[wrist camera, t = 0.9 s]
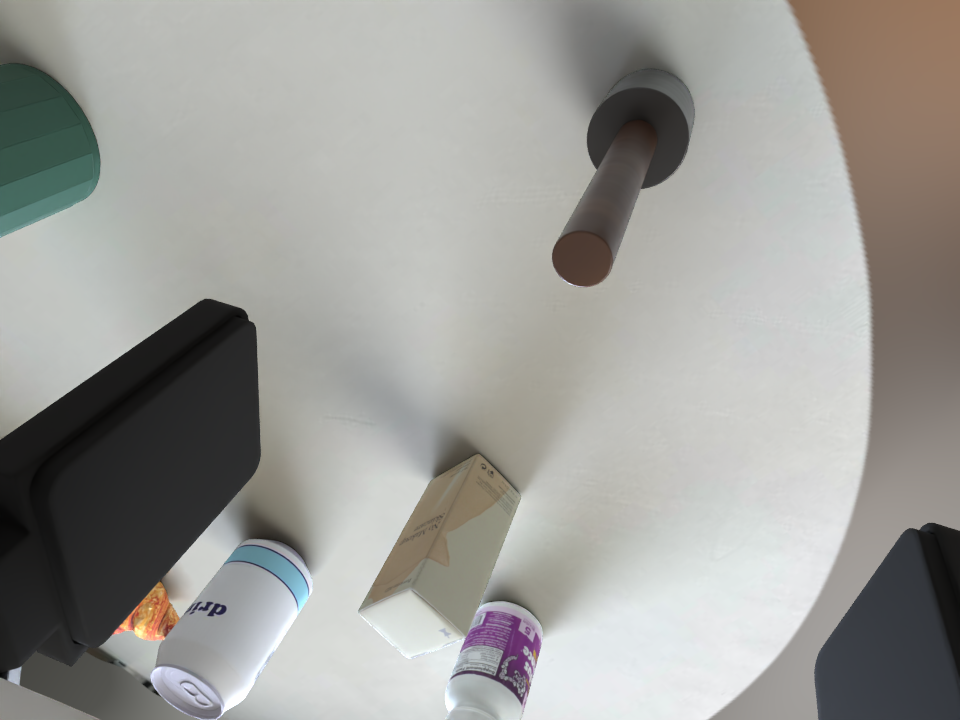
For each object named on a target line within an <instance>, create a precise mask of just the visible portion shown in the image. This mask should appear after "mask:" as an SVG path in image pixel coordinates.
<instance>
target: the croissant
mask: <svg viewBox="0 0 960 720" xmlns="http://www.w3.org/2000/svg"><path fill="white" fill-rule="evenodd" d="M179 620H180V618H179V617H178V615H177V613H176V611H175V610H174V608H173V607H172V604H171V603H170V602H169V599H168V595H167V593H166V589H165V588H164V587H163V584H162V583H161V582H160V581H159V582H158V584H157V585H156V586H155V587H154V588H153V589H152V590H151V591H150V593H149V594H148V595H147V596H146V597H145V598H144V599H143V600H142V602H141V603H140V604H139V605H138V606H137V607H136V608H135V609H134V611H133V612H132V613H131V614H130V615H129V616H128V617H127V618H126V620H125V621H124V622H123V623H122V624H121V625H120V626H119V627H118V629H117V630H116V631H115V632H114V633H113V634H117V633H121V632H123V631H129V630H133V631H134V632H135V635H136V636H137V637H140V638H142V639H144V640H164V639H165V637H166V636H167V635H168V634H169V632H170V631H171V630H172V628H173V627H174V626H175V625H176V623H177V622H178V621H179Z"/></svg>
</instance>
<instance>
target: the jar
mask: <svg viewBox="0 0 960 720" xmlns="http://www.w3.org/2000/svg"><path fill="white" fill-rule="evenodd" d="M99 174H100V155H99V150H98V145H97V142H96V139H95V135H94V133H93V131H92V128H91V126H90V124H89V122H88V120H87V118H86V116H85V115H84V113H83V111H82V110H81V108H80V107H79V105H78V104H77V103H76V101H75V100H74V99H73V98H72V97H71V95H70V94H69V93H68V92H67V91H66V90H65V89H64V88H63V87H62V86H61V85H60V84H59V83H57V82H56V81H55V80H54V79H52V78H51V77H50V76H48V75H46V74H45V73H43V72H42V71H39V70H37V69H35V68H33V67H30V66H27V65H23V64H18V63H9V64H4V65H0V237H3V236H5V235H7V234H9V233H12V232H14V231H16V230H19V229H21V228H23V227H25V226H28V225H30V224H32V223H35V222H37V221H39V220H41V219H44V218H46V217H48V216H51V215H53V214H55V213H57V212H60V211H62V210H64V209H67V208H69V207H71V206H73V205H74V204H76V203H78V202H80V201H82V200H84V199H86V198H87V197H88V196H89V195H90V194H91V193H92V192H93V190H94V189H95V187H96V185H97V182H98V179H99Z"/></svg>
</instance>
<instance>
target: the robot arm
mask: <svg viewBox="0 0 960 720" xmlns="http://www.w3.org/2000/svg"><path fill="white" fill-rule="evenodd" d="M260 457H261V445H260V418H259V390H258V363H257V335H256V327H255V325H254V323H253V322H251V321H249V320H248V315H247V313H246V311H244V310H243V309H241V308H238V307H235V306H232V305H229V304H225V303H222V302H219V301H216V300H212V299H204V300H202V301H200V302H198V303H197V304H195V305H194V306H193V307H191V308H190V309H188V310H187V311H185V312H184V313H182V314H181V315H180V316H178V317H177V318H175V319H174V320H172V321H171V322H169V323H168V324H167V325H165V326H164V327H162V328H161V329H159V330H158V331H157V332H155V333H154V334H152V335H151V336H149V337H148V338H146V339H145V340H144V341H142V342H141V343H139V344H138V345H136V346H135V347H133V348H132V349H131V350H129V351H128V352H126V353H125V354H123V355H122V356H121V357H119V358H118V359H116V360H115V361H113V362H112V363H110V364H109V365H108V366H106V367H105V368H103V369H102V370H100V371H99V372H97V373H96V374H95V375H93V376H92V377H90V378H89V379H87V380H86V381H85V382H83V383H82V384H80V385H79V386H77V387H76V388H74V389H73V390H72V391H70V392H69V393H67V394H66V395H64V396H63V397H61V398H60V399H59V400H57V401H56V402H54V403H53V404H51V405H50V406H49V407H47V408H46V409H44V410H43V411H41V412H40V413H38V414H37V415H36V416H34V417H33V418H31V419H30V420H28V421H27V422H25V423H24V424H23V425H21V426H20V427H18V428H17V429H15V430H14V431H13V432H11V433H10V434H8V435H7V436H5V437H4V438H2V439H1V440H0V720H100V719H98V718H96V717H93V716H91V715H89V714H86V713H84V712H82V711H79V710H77V709H74V708H73V707H70V706H68V705H65V704H63V703H61V702H58V701H56V700H53V699H51V698H49V697H46V696H43V695H41V694H39V693H36V692H34V691H32V690H29V689H27V688H24V687H22V686H19V684H20V675H21V666H22V665H23V664H24V663H25V662H26V661H27V660H28V659H29V657H31V656H32V654H33V653H34V652H35V651H36V650H37V652H38V653H41V654H43V655H45V656H48V657H50V658H52V659H55V660H57V661H59V662H62V663H64V664H66V665H69V666H73V664H74V663H75V662H76V661H77V660H78V659H79V658H80V657H81V656H82V654H83V653H84V652H85V651H86V650H87V649H88V648H89V647H91V648H96V647H99V646H100V645H102V644H103V643H104V642H106V641H107V640H108V639H109V638H110V636H111V635H112V634H113V633H114V632H115V631H116V630H117V629H118V627H119V626H120V625H121V624H122V623H123V622H124V621H125V620H126V618H127V617H128V616H129V615H130V614H131V613H132V612H133V611H134V609H135V608H136V607H137V606H138V605H139V604H140V603H141V602H142V600H143V599H144V598H145V597H146V596H147V595H148V594H149V593H150V591H151V590H152V589H153V588H154V587H155V586H156V585H157V584H158V582H159V581H160V580H161V579H162V578H163V577H164V576H165V575H166V573H167V572H168V571H169V570H170V569H171V568H172V567H173V565H174V564H175V563H176V562H177V561H178V560H179V559H180V558H181V556H182V555H183V554H184V553H185V552H186V551H187V550H188V549H189V547H190V546H191V545H192V544H193V543H194V542H195V541H196V540H197V538H198V537H199V536H200V535H201V534H202V533H203V532H204V531H205V529H206V528H207V527H208V526H209V525H210V524H211V523H212V522H213V520H214V519H215V518H216V517H217V516H218V515H219V514H220V513H221V511H222V510H223V509H224V508H225V507H226V506H227V505H228V504H229V502H230V501H231V500H232V499H233V498H234V497H235V496H236V495H237V493H238V492H239V491H240V490H241V489H242V488H243V487H244V485H245V484H246V483H247V482H248V481H249V480H250V479H251V477H252V476H253V475H254V473H255V471H256V470H257V467H258V465H259V462H260ZM814 674H815V687H816V698H817V709H818V719H819V720H960V531H958V530H955V529H951V528H948V527H945V526H942V525H939V524H936V523H927V524H926V525H924V526H922V527H921V529H920V530H917V529H913V528H909V529H907V530H906V531H905V532H904V533H903V534H902V535H901V536H900V538H899V539H898V540H897V542H896V543H895V545H894V546H893V548H892V549H891V550H890V552H889V553H888V555H887V556H886V557H885V559H884V560H883V562H882V563H881V565H880V566H879V567H878V569H877V570H876V572H875V573H874V575H873V576H872V577H871V579H870V580H869V582H868V583H867V585H866V586H865V587H864V589H863V590H862V592H861V593H860V595H859V596H858V597H857V599H856V600H855V601H854V603H853V604H852V606H851V607H850V609H849V610H848V612H847V613H846V614H845V616H844V617H843V619H842V620H841V622H840V623H839V624H838V626H837V627H836V629H835V630H834V631H833V633H832V634H831V636H830V637H829V638H828V640H827V641H826V643H825V644H824V645H823V647H822V648H821V650H820V652H819V654H818V657H817V660H816V664H815V672H814Z"/></svg>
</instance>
